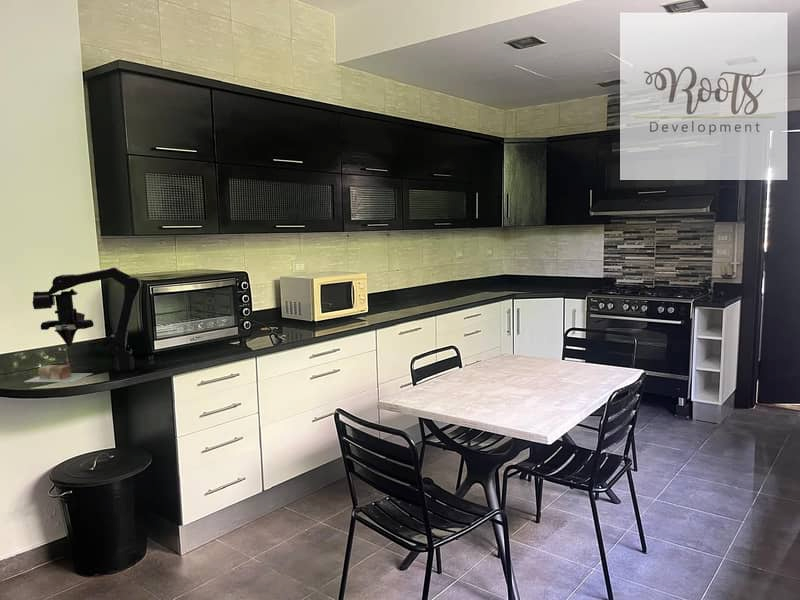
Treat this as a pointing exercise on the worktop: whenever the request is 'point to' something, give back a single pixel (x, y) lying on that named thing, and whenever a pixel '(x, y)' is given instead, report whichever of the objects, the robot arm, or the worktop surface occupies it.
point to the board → (70, 379)
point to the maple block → (55, 372)
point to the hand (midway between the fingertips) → (69, 346)
